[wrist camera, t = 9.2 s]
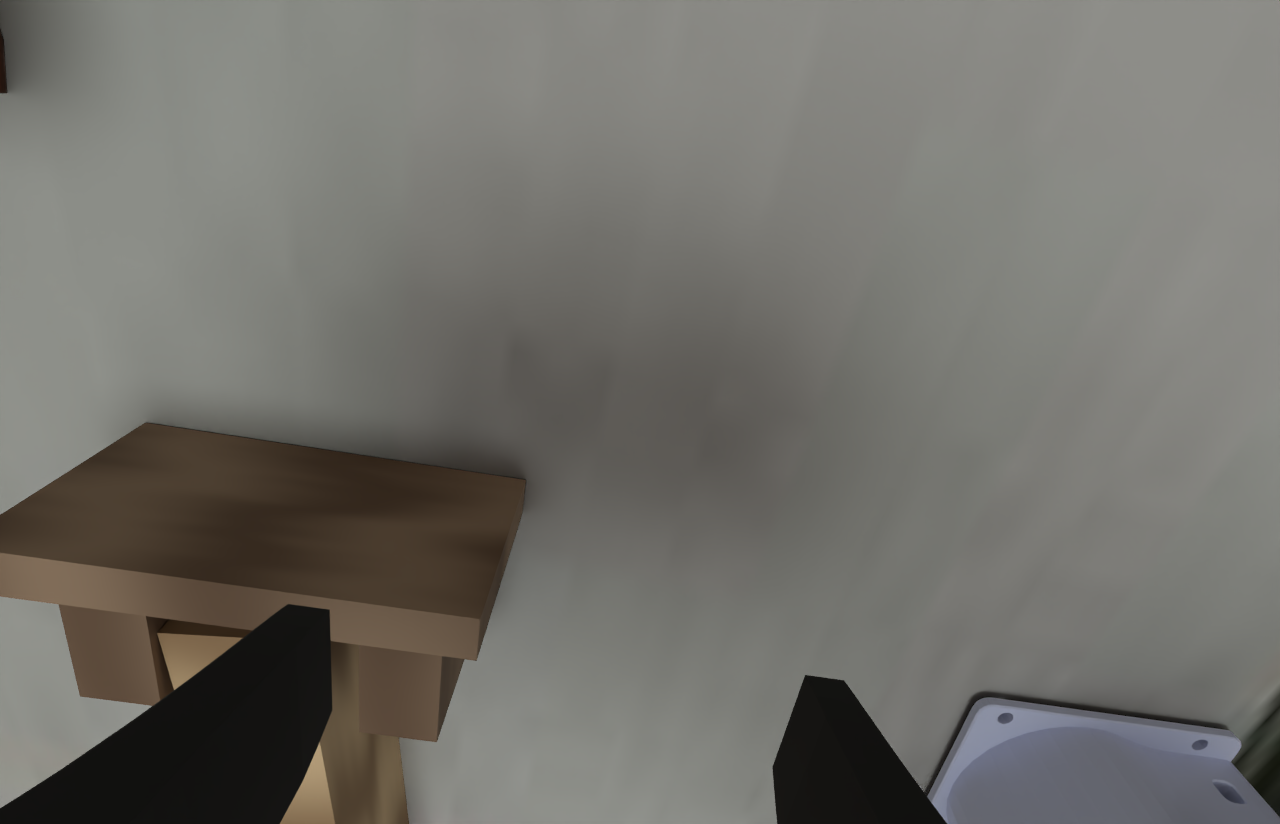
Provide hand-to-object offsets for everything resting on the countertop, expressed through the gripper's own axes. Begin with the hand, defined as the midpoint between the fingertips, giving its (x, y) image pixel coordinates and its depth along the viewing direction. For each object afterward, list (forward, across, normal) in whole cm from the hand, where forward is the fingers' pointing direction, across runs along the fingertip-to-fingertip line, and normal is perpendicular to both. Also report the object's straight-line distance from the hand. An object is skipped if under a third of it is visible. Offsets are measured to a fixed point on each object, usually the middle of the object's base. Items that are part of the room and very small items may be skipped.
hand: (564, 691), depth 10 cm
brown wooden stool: (+10, +8, +6) cm, 14 cm away
